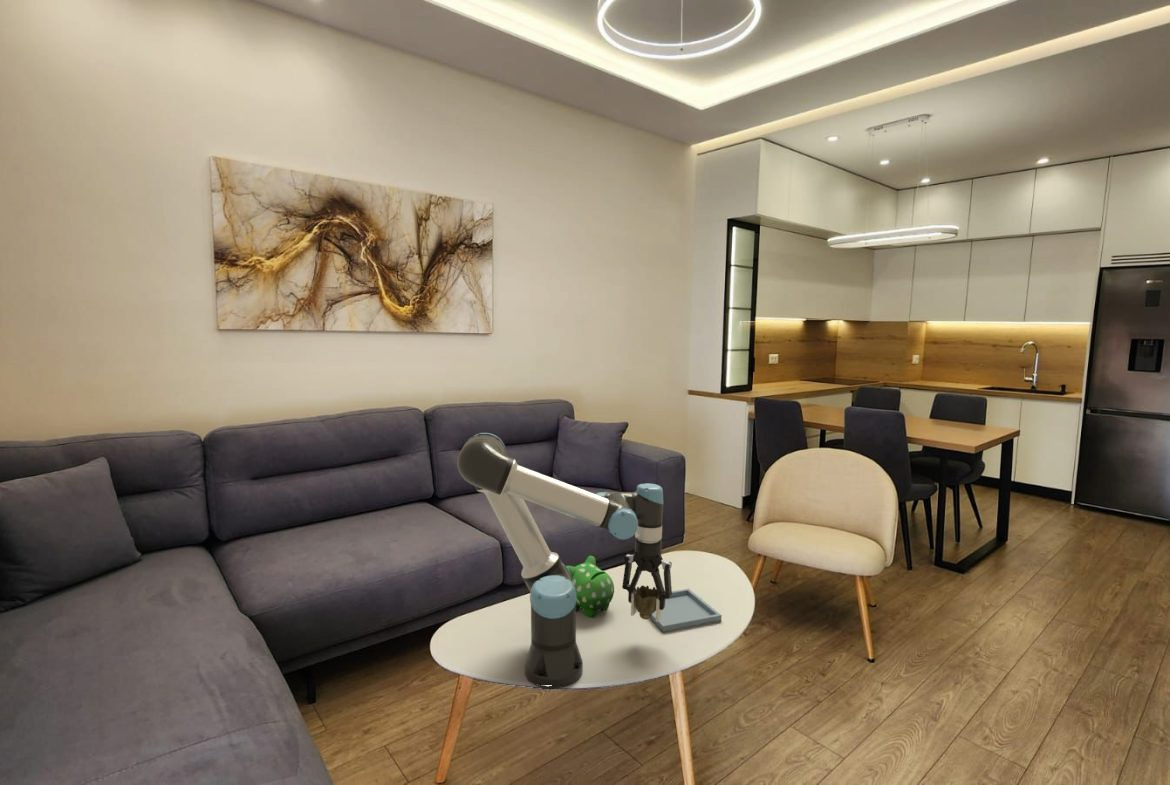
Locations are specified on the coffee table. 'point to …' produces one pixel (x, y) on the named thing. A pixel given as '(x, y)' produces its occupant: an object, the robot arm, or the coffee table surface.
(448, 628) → the coffee table surface
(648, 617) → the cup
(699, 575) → the coffee table surface
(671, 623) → the tray
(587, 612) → the piggy bank
